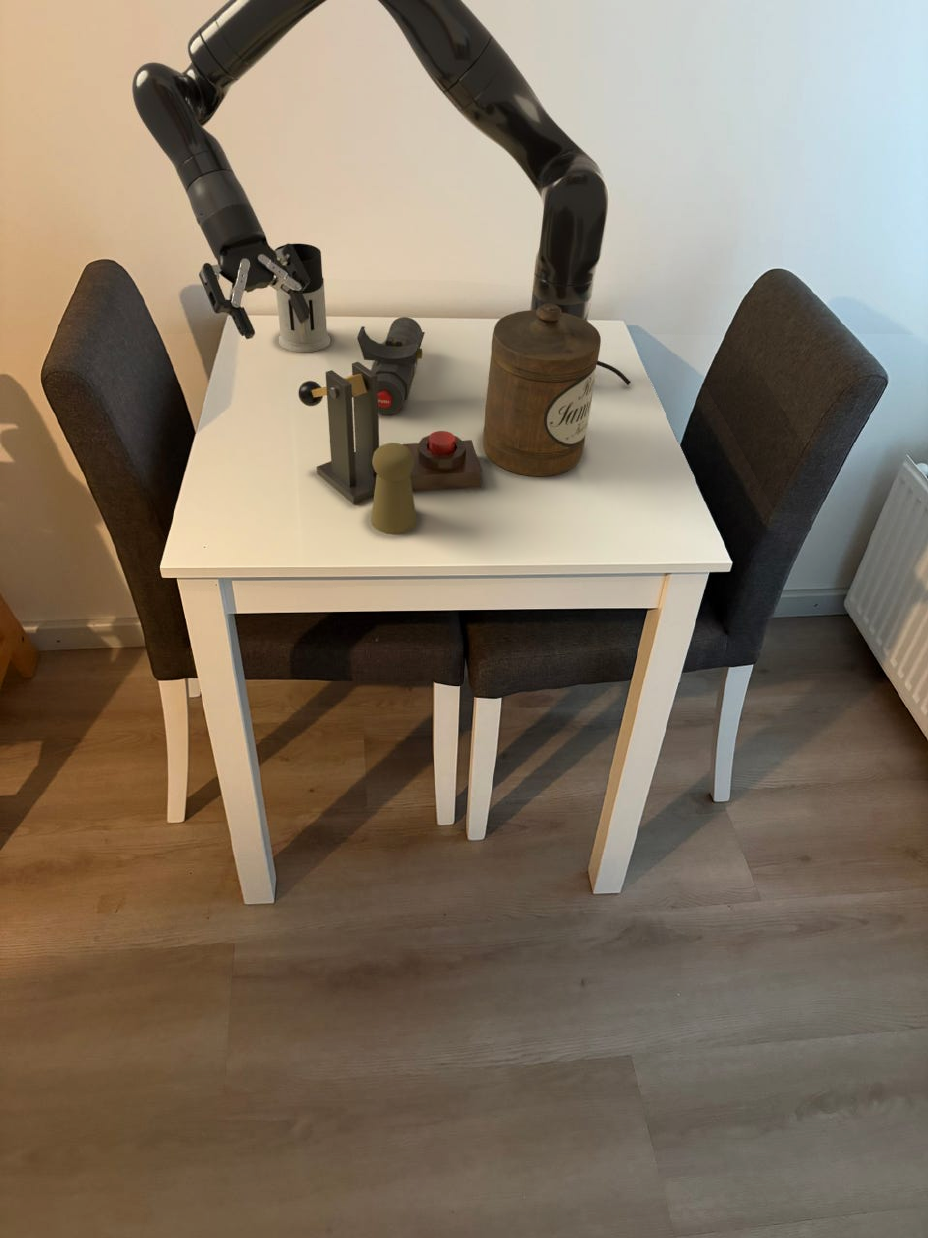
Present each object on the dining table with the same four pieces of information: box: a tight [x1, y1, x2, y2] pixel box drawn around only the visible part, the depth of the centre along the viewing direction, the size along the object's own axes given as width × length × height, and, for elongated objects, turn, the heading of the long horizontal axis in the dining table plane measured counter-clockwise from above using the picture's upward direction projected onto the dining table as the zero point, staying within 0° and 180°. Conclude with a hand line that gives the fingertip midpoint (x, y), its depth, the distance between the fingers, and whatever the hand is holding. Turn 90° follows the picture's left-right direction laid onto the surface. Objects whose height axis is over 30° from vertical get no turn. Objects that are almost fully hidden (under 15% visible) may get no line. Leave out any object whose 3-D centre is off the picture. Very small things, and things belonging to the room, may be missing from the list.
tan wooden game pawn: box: [370, 442, 418, 535], centre depth 114 cm, size 6×6×11 cm
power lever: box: [297, 374, 367, 407], centre depth 118 cm, size 15×3×3 cm, turn 39°
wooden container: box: [482, 303, 602, 477], centre depth 124 cm, size 15×15×22 cm
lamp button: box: [428, 430, 456, 455], centre depth 122 cm, size 4×4×2 cm
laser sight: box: [356, 316, 426, 416], centre depth 140 cm, size 10×22×10 cm, turn 174°
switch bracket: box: [316, 361, 380, 505], centre depth 118 cm, size 9×7×16 cm
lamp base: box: [402, 434, 483, 492], centre depth 124 cm, size 10×8×4 cm
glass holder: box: [273, 243, 331, 353], centre depth 145 cm, size 9×14×15 cm, turn 8°
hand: (278, 328), depth 122 cm, fingers open, 8 cm apart
